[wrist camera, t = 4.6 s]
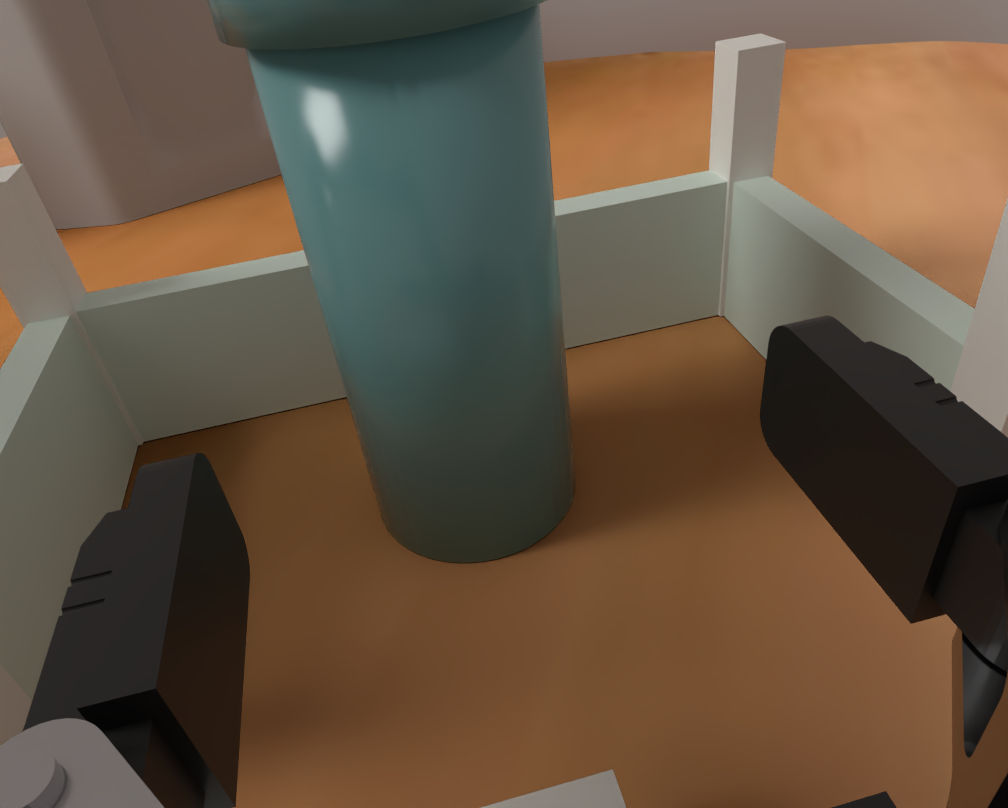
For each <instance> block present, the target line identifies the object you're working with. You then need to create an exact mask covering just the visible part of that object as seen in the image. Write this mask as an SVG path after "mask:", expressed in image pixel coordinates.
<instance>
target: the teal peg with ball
mask: <svg viewBox="0 0 1008 808" xmlns="http://www.w3.org/2000/svg"><path fill="white" fill-rule="evenodd" d="M544 1H546V0H207V3H208V6H209V9H210V13H211V16H212V19H213V22H214V26H215V29H216V32H217V35H218V39H219V40H220V41H221V42H222V43H224V44H226V45H229V46H234V47H238V48H245V50H246V54H247V57H248V60H249V64H250V67H251V71H252V74H253V77H254V81H255V84H256V88H257V91H258V95H259V98H260V101H261V105H262V108H263V112H264V115H265V119H266V122H267V125H268V129H269V132H270V136H271V139H272V143H273V146H274V149H275V153H276V156H277V160H278V163H279V167H280V170H281V173H282V177H283V180H284V184H285V187H286V191H287V194H288V197H289V201H290V204H291V208H292V211H293V215H294V218H295V221H296V225H297V228H298V232H299V235H300V239H301V242H302V245H303V249H304V252H305V256H306V259H307V263H308V266H309V269H310V273H311V276H312V280H313V283H314V287H315V290H316V293H317V297H318V300H319V304H320V307H321V311H322V314H323V317H324V321H325V324H326V328H327V331H328V335H329V338H330V341H331V345H332V348H333V352H334V355H335V359H336V362H337V365H338V369H339V372H340V376H341V379H342V383H343V386H344V389H345V393H346V396H347V400H348V403H349V406H350V410H351V413H352V417H353V420H354V424H355V427H356V430H357V434H358V437H359V441H360V444H361V448H362V451H363V454H364V458H365V461H366V465H367V468H368V472H369V475H370V478H371V482H372V485H373V489H374V492H375V496H376V499H377V502H378V506H379V509H380V513H381V516H382V520H383V522H384V524H385V526H386V528H387V530H388V531H389V532H390V534H391V535H392V536H393V537H394V538H395V539H396V540H397V541H398V542H399V543H400V544H401V545H403V546H404V547H406V548H407V549H409V550H411V551H413V552H415V553H417V554H419V555H422V556H424V557H427V558H430V559H435V560H439V561H445V562H454V563H473V562H483V561H489V560H494V559H498V558H502V557H505V556H508V555H512V554H514V553H516V552H519V551H521V550H524V549H526V548H527V547H529V546H531V545H533V544H535V543H536V542H538V541H539V540H541V539H542V538H544V537H545V536H546V535H548V534H549V533H550V532H551V531H552V530H553V529H554V528H555V527H556V526H557V525H558V524H559V523H560V521H561V520H562V519H563V518H564V516H565V515H566V513H567V511H568V510H569V508H570V505H571V503H572V500H573V496H574V492H575V475H574V462H573V448H572V435H571V422H570V408H569V395H568V382H567V368H566V355H565V342H564V328H563V315H562V301H561V288H560V275H559V261H558V248H557V235H556V221H555V208H554V195H553V181H552V168H551V154H550V141H549V128H548V114H547V101H546V88H545V74H544V61H543V48H542V36H541V35H542V34H541V21H540V9H539V4H540V3H542V2H544Z"/></svg>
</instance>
